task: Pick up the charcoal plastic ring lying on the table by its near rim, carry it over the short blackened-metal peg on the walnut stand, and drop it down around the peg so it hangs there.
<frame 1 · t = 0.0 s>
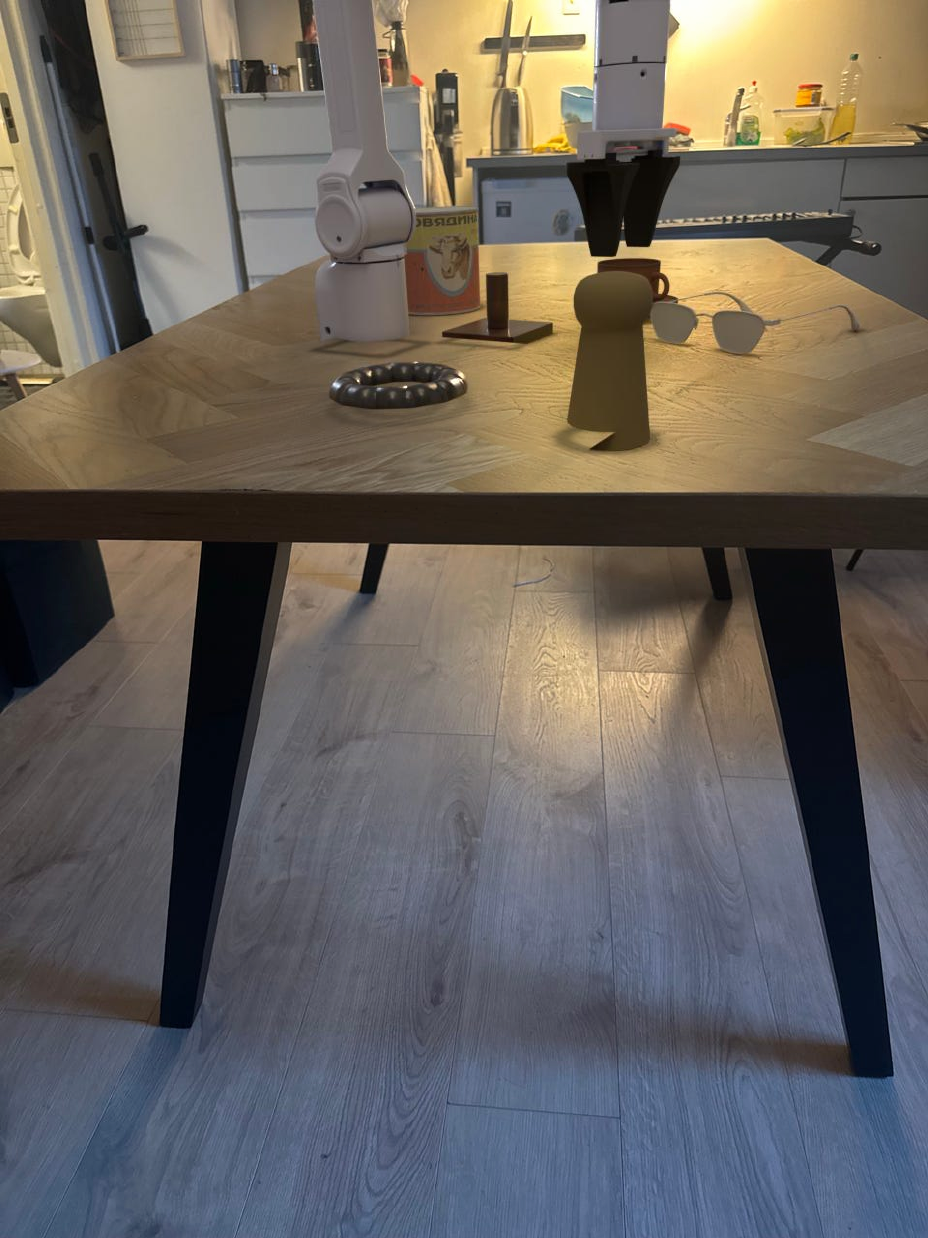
hand: (621, 251, 74), 10 cm above the table, tool pointing down, fingers open, 7 cm apart
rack: (498, 337, 95), on the table
canned food: (439, 309, 114), on the table
ring: (399, 390, 70), point 1 cm above the table
eyeglasses: (753, 336, 91), on the table
cork: (606, 440, 61), on the table
cup and saucer: (626, 318, 103), on the table
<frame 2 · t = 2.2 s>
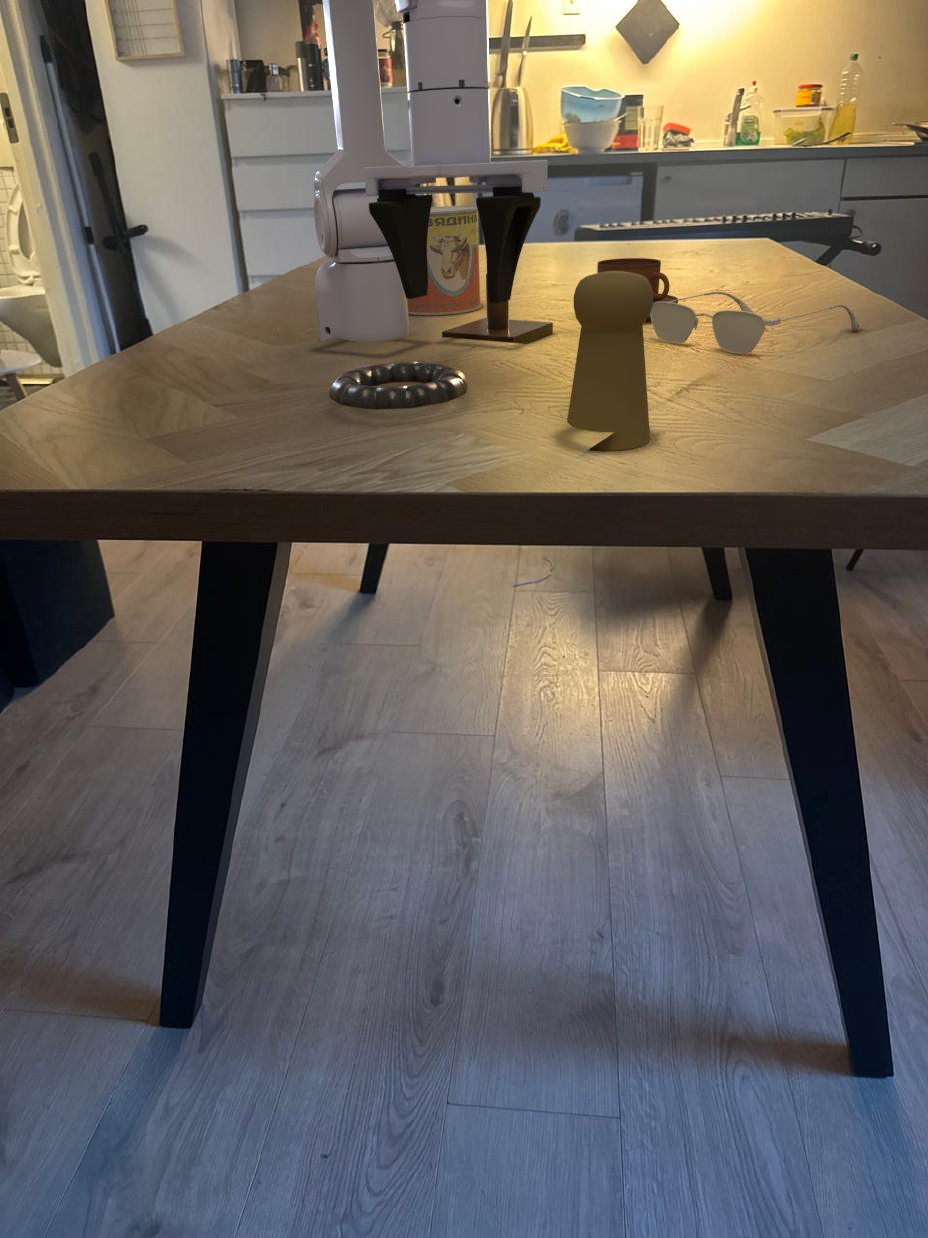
hand: (457, 298, 66), 8 cm above the table, tool pointing down, fingers open, 7 cm apart
nothing on the table moved.
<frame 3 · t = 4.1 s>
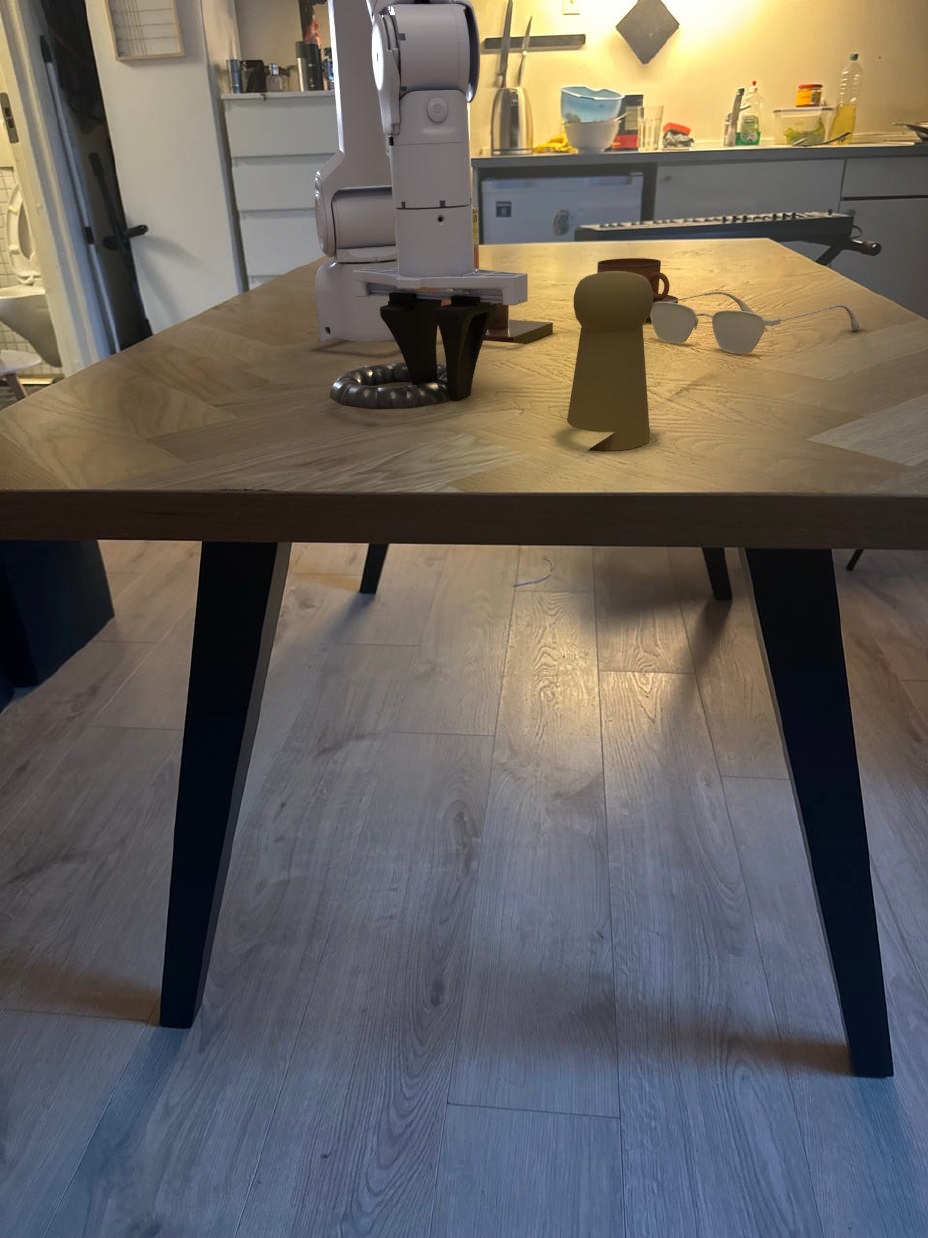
hand: (442, 395, 68), 1 cm above the table, tool pointing down, fingers closed on ring, 3 cm apart
ring: (400, 390, 70), point 1 cm above the table, touching gripper
everything else where it was.
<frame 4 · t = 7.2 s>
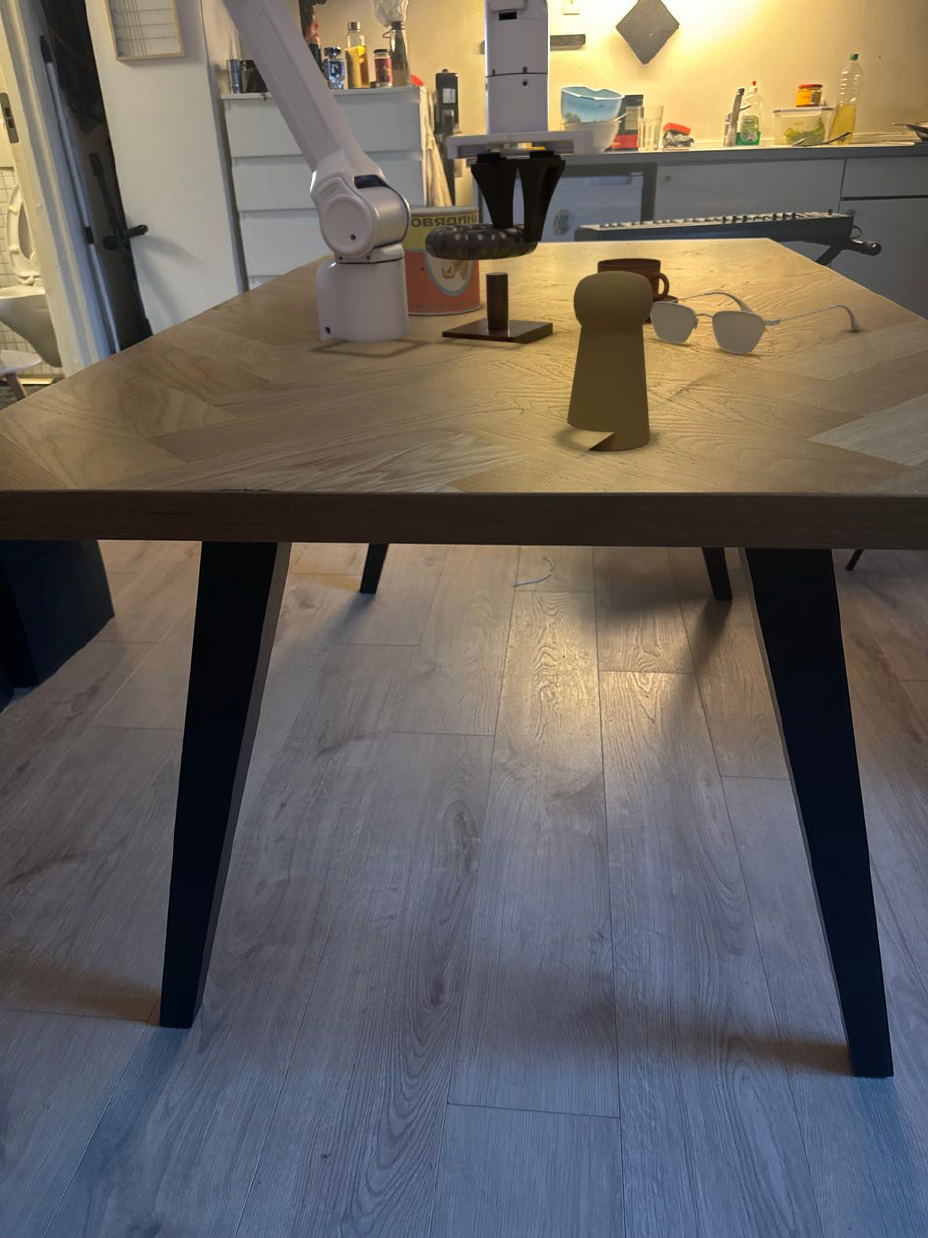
hand: (518, 241, 83), 10 cm above the table, tool pointing down, fingers closed on ring, 3 cm apart
ring: (481, 240, 85), point 10 cm above the table, touching gripper
everything else where it was.
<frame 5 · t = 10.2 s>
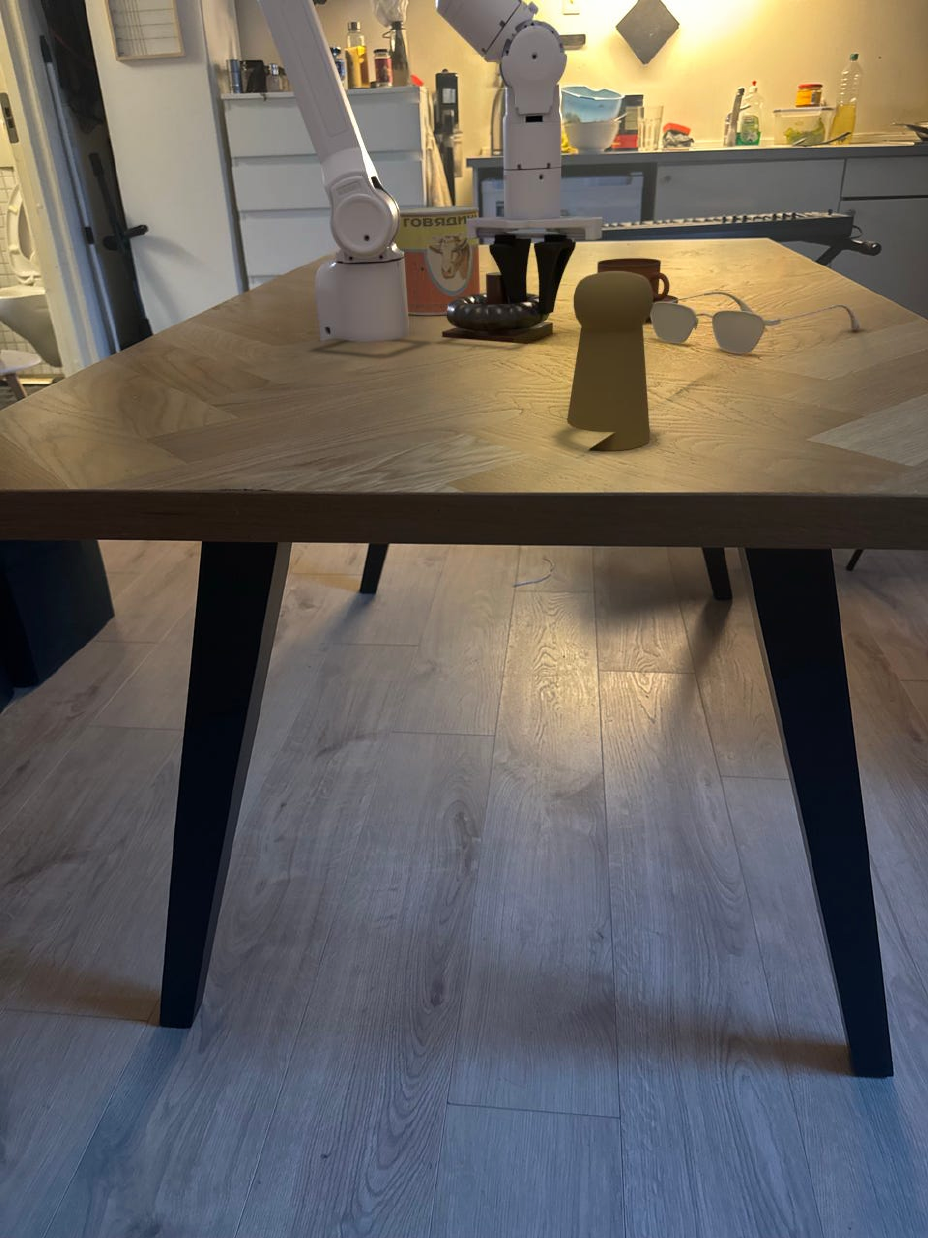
hand: (532, 312, 91), 3 cm above the table, tool pointing down, fingers closed on ring, 3 cm apart
ring: (497, 310, 93), point 3 cm above the table, touching gripper
everything else where it was.
when the fingers open (3 cm above the table, at t = 10.4 s): ring stays where it is, resting on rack.
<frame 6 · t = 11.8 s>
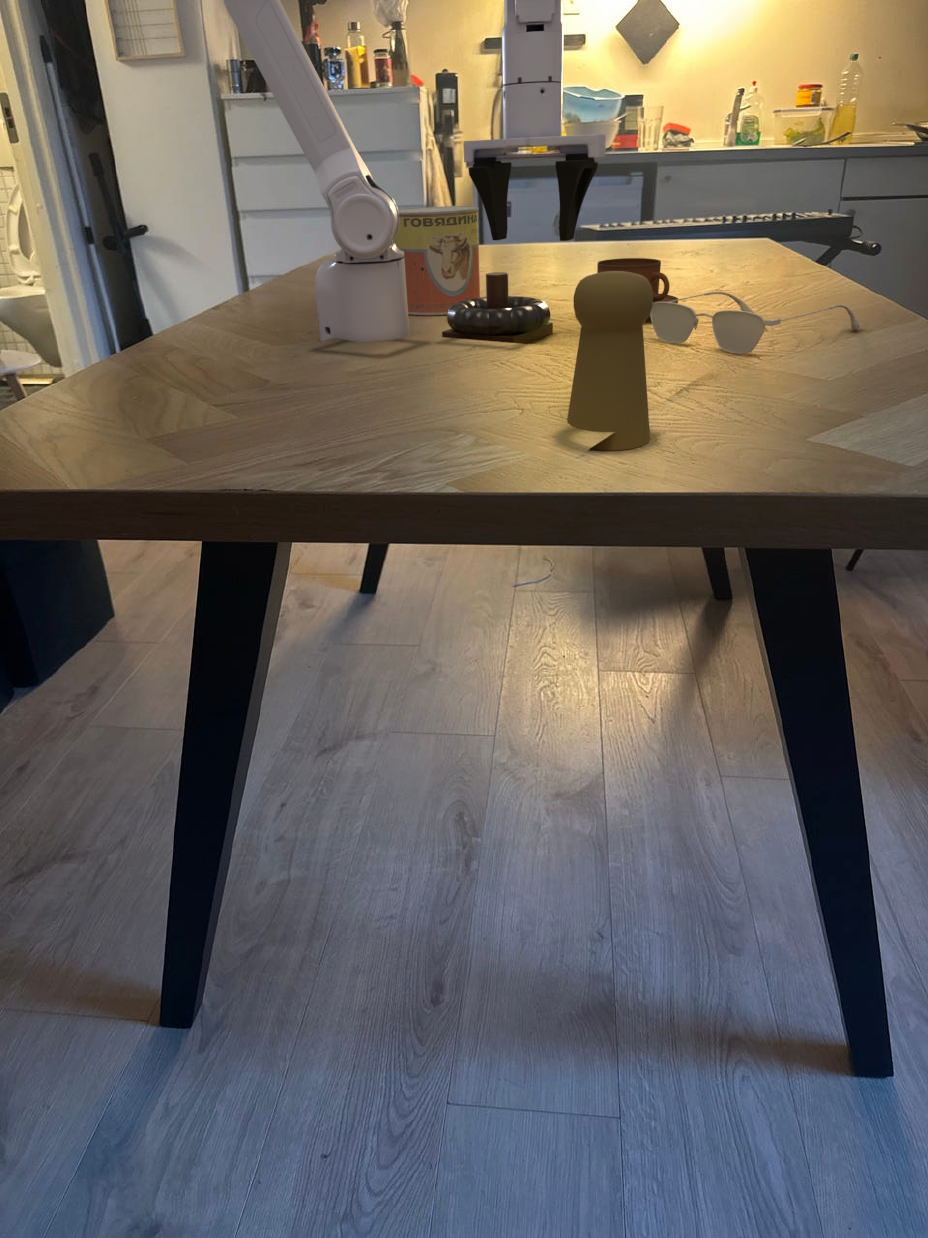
hand: (532, 239, 88), 10 cm above the table, tool pointing down, fingers open, 7 cm apart
ring: (498, 314, 93), point 2 cm above the table, touching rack
everything else where it was.
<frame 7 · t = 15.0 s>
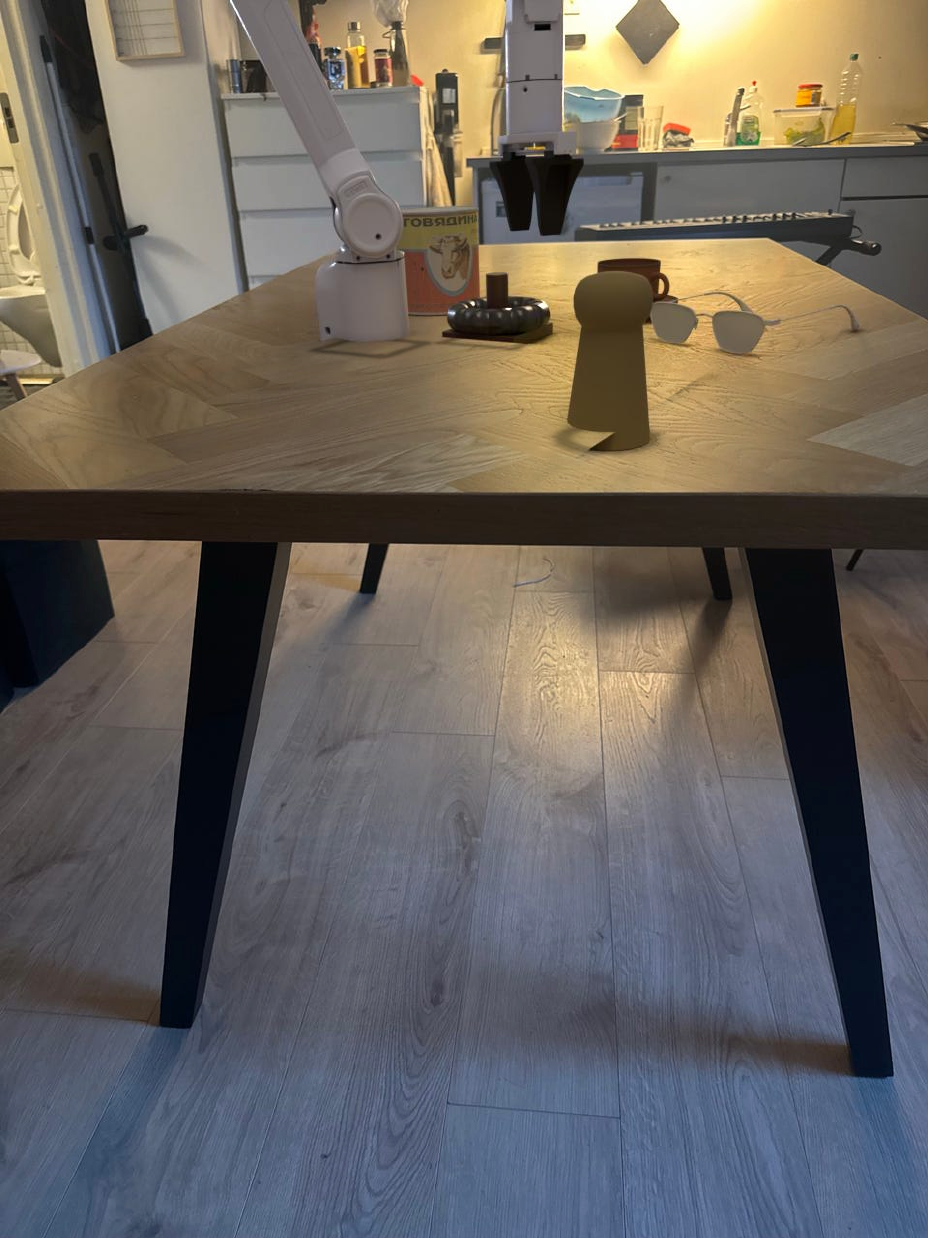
hand: (534, 232, 91), 10 cm above the table, tool pointing down, fingers open, 7 cm apart
nothing on the table moved.
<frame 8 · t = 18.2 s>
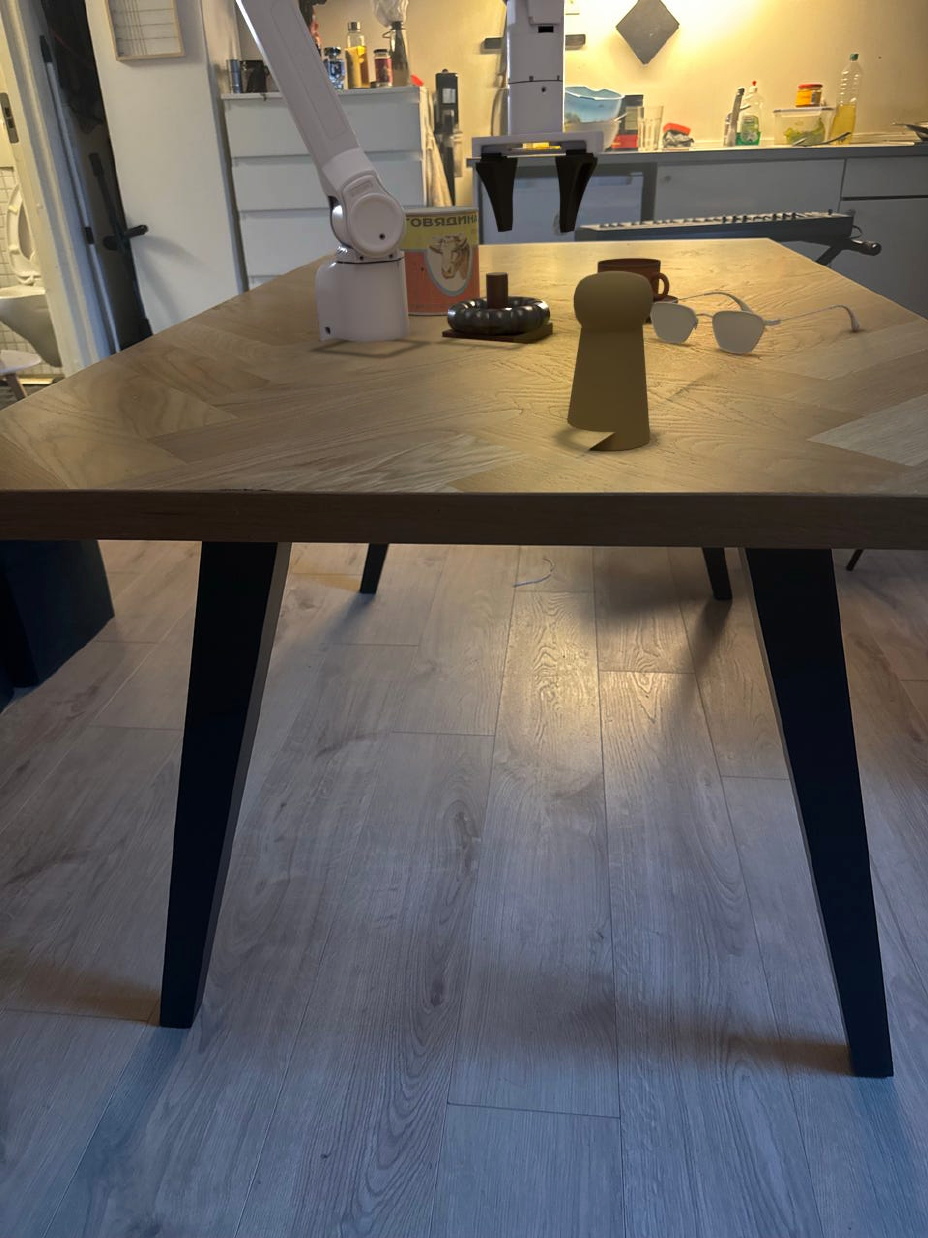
hand: (535, 231, 92), 10 cm above the table, tool pointing down, fingers open, 7 cm apart
nothing on the table moved.
at the end: ring 0.2 cm from the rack (horizontally); ring point 2.5 cm above the table; the gripper is holding nothing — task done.
